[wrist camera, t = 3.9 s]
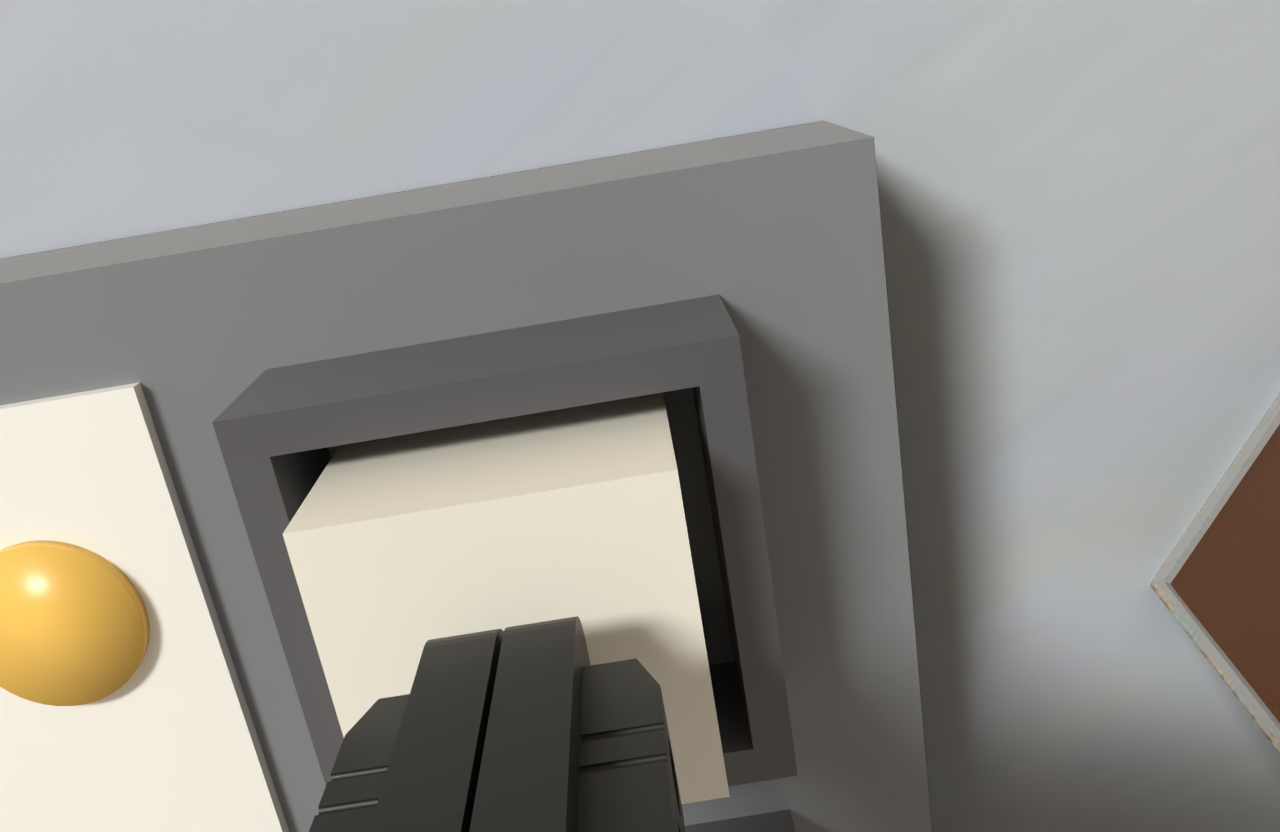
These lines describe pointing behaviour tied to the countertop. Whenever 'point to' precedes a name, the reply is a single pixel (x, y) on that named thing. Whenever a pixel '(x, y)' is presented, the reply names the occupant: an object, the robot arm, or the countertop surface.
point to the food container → (1236, 577)
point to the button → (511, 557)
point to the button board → (441, 398)
